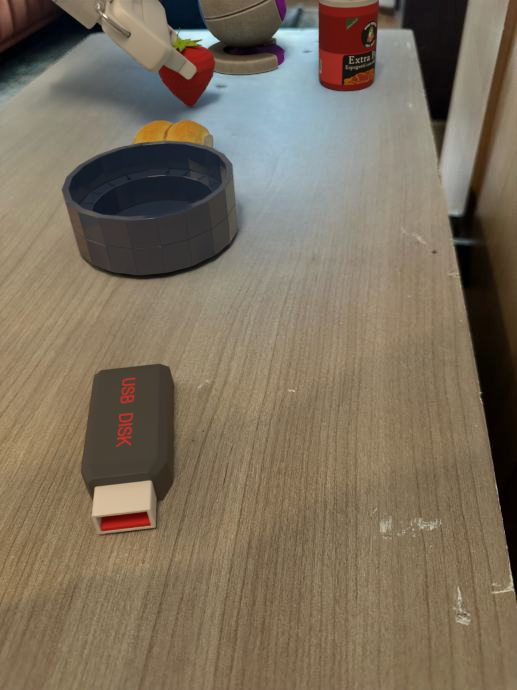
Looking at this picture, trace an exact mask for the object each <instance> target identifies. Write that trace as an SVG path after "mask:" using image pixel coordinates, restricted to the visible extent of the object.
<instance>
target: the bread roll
mask: <svg viewBox="0 0 517 690" xmlns="http://www.w3.org/2000/svg"><path fill="white" fill-rule="evenodd" d="M154 141H182V142H192V143H196V144H201V145H205V146H209V147H211V148H213V149H214V141H215V140H214V136H213V134H211V133H210V131H209V129H207V128H206V127H205V126H204V125H202V124H201V123H198V122H196V121H194V120H190V119H182V120H179V121H178V122H175V123H173V122H171V121H167V120H162V119H159V120H154V121H151V122H149V123H147V124H145V125H144V126H142V127H141V128H139V130H138V131H137V132H136V134H135V136H134V137H133V140H132V144H137V143H143V142H154Z"/></svg>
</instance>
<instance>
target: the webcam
mask: <svg viewBox="0 0 517 690" xmlns="http://www.w3.org/2000/svg"><path fill="white" fill-rule="evenodd" d="M197 4H198V10H199V14H200V18H201V19H202V22H203V24H204V25H205V27H206V29H207V30H208V32H209V33H210V34H211V36H213V37H214V38H215V39H216V40H217V42H215V43H213V44H211V45H210V46H209V47H208V48H207V49H208V50H209V51H210V52H212V54H213V57H214V60H215V67H214V72H216V73H220V74H226V75H255V74H260V73H261V74H262V73H266V72H270V71H274V70H276V69H278V68H279V67H278V66H279V65H281V64H282V63H284V61H285V49H284V48H283V46H280V45H279V44H278V42H277V38H276V37H274V36H275V34H276V33H277V32H278V31H279V29H280V28H281V26H282V25H283V23H284V21H285V18H286V15H287V10H288V8H287V3H286V0H197Z"/></svg>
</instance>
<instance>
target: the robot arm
mask: <svg viewBox="0 0 517 690" xmlns="http://www.w3.org/2000/svg"><path fill="white" fill-rule="evenodd" d="M51 2H53V3H54V4H55V5H57V7H58V6H59V8H61V9H62V10H63V11H65V12H66V13H67V14H68V15H70V16H71V17H72V18H73V19H75V20H76V21H77V22H79V24H81V25H83V26H84V27H85V28H86V29H88V30H90V29H92V28H94V26H95V25H96V24H98V25H100V26H101V29H102V32H103V33H104V34H105V35H106V36H107V38H109V39H110V40H111V41H112V42H113V43H114V44H116V45H117V46H118V47H119V48H120V49H121V50H122V51H123V52H124V53H126V54H127V55H128V56H129V57H131V58H132V59H133V60H134V61H135V62H137V64H139V65H140V66H141V67H143V68H144V69H145V70H147V71H148V72H151V73H152V74H157V73H158V71H159V70H160V69H161V67H162V66H163V65H165V66H166V67H168V68H170V69H172V70H174V71H176V72H178V73H180V74H181V75H182V76H183V77H185V78H186V79H191V78H192V77H193V75H194V74H195V73H196V66H195V64H194V63H193V62H192V61H190V60H189V59H188V58H187V57H184V56H183V55H181V54H180V53H179V52H178V51H176V49H175V48H174V47H173V46H172V45H171V43H173V42H176V40H177V34H178V32H176V31H175V30H174V29H173V27H171V26H170V25H169V24H168V19H167V14H166V10H165V8H164V6H163V5H162V3H161V2H160V1H159V0H51ZM178 38H179V39H182V38H181V37H180V35H178Z"/></svg>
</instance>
